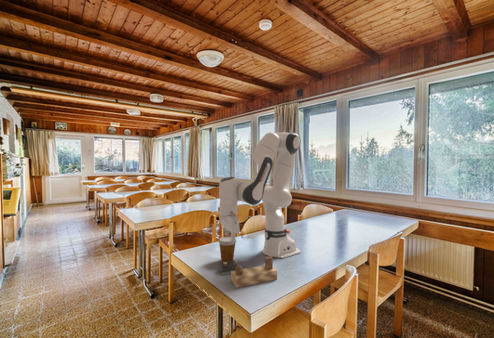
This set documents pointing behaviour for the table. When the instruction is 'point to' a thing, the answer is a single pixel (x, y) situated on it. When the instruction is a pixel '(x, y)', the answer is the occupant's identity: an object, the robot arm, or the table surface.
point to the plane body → (253, 274)
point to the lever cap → (227, 266)
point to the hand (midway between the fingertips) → (229, 237)
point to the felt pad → (225, 272)
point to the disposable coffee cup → (227, 248)
